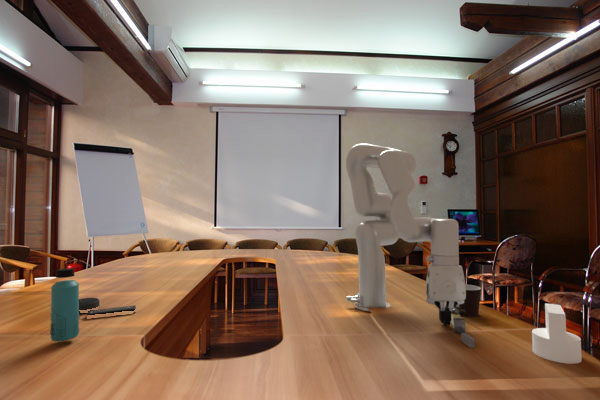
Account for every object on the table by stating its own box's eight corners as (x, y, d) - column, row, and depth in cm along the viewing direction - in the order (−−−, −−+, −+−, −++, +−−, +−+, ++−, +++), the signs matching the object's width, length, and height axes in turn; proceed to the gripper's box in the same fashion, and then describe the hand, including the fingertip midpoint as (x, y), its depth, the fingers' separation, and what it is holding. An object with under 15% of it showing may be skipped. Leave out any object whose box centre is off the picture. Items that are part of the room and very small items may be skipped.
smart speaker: (89, 315, 115) (89, 303, 116) (63, 315, 116) (64, 303, 116) (104, 307, 124) (104, 297, 124) (81, 307, 124) (81, 297, 125)
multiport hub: (135, 315, 116) (135, 308, 116) (86, 321, 110) (86, 313, 110) (135, 311, 120) (135, 305, 120) (88, 317, 114) (88, 310, 114)
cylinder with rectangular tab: (585, 373, 71) (583, 316, 71) (534, 364, 76) (532, 310, 76) (578, 358, 78) (576, 306, 79) (531, 350, 83) (530, 301, 84)
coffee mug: (485, 323, 103) (484, 290, 104) (456, 321, 105) (455, 289, 105) (474, 312, 115) (473, 282, 115) (447, 310, 116) (446, 282, 117)
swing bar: (466, 334, 90) (465, 320, 90) (455, 333, 91) (454, 319, 91) (459, 321, 101) (458, 308, 101) (449, 320, 102) (448, 307, 102)
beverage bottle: (84, 339, 92) (86, 267, 93) (60, 349, 86) (62, 271, 87) (68, 337, 94) (69, 266, 95) (43, 346, 88) (44, 270, 89)
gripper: (423, 262, 94) (424, 328, 94) (476, 262, 94) (477, 328, 94) (414, 258, 102) (415, 319, 101) (464, 258, 101) (464, 319, 101)
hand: (445, 323), depth 97 cm, fingers closed
